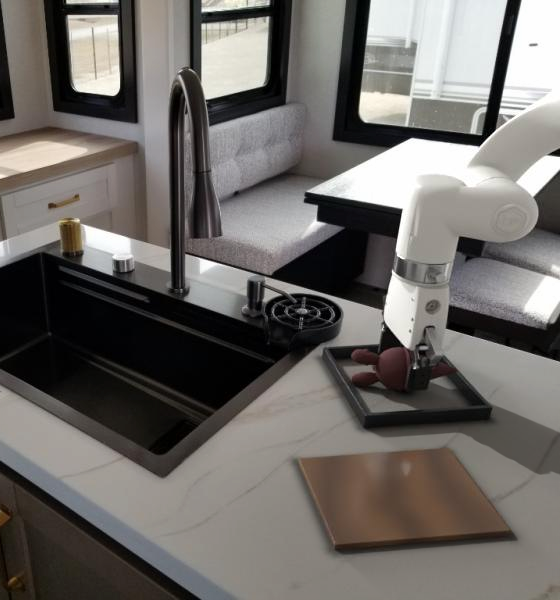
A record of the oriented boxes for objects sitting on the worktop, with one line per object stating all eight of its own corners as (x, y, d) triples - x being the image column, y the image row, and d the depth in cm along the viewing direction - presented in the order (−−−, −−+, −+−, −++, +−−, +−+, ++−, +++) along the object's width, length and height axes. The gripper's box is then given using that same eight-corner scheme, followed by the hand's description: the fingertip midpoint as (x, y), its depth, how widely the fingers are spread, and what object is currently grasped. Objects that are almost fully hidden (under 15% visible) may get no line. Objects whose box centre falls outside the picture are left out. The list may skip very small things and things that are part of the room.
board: (447, 452, 83) (448, 447, 83) (509, 535, 71) (510, 530, 71) (298, 463, 82) (298, 458, 82) (334, 549, 70) (335, 544, 69)
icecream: (452, 340, 97) (349, 339, 100) (464, 354, 89) (353, 353, 93) (450, 383, 98) (348, 381, 101) (462, 401, 91) (353, 398, 94)
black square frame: (429, 352, 106) (431, 340, 105) (489, 420, 89) (492, 407, 88) (321, 358, 104) (323, 347, 103) (363, 428, 88) (365, 415, 87)
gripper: (481, 292, 80) (454, 403, 88) (419, 241, 96) (401, 340, 103) (424, 295, 80) (401, 406, 88) (371, 243, 95) (356, 342, 103)
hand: (401, 370), depth 95 cm, fingers open, 9 cm apart
